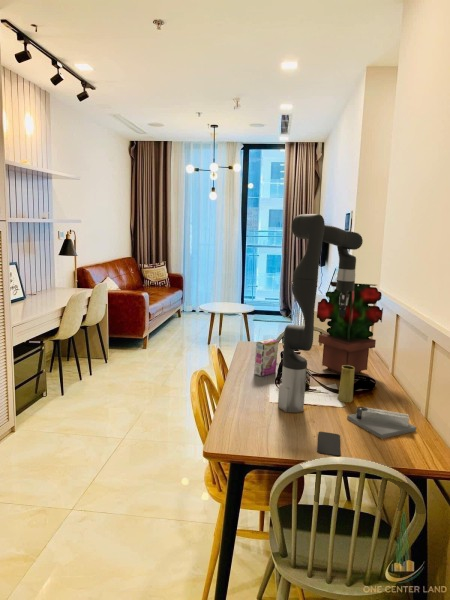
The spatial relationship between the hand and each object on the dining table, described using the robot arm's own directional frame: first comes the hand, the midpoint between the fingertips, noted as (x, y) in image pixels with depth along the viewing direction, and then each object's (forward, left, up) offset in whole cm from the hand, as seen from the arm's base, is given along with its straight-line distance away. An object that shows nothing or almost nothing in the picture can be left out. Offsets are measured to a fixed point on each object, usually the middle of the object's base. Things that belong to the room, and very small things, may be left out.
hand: (342, 316), depth 193 cm
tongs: (-9, -36, -32) cm, 49 cm away
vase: (-5, -12, -33) cm, 36 cm away
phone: (-37, -41, -34) cm, 65 cm away
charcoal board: (-9, -36, -33) cm, 50 cm away
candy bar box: (-20, +28, -33) cm, 48 cm away
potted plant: (+21, +19, -33) cm, 44 cm away
